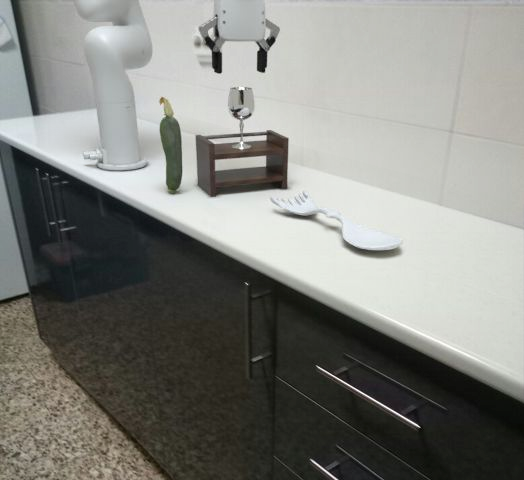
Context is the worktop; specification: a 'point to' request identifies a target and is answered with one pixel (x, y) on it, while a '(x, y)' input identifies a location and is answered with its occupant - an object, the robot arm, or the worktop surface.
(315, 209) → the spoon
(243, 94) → the wineglass
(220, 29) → the robot arm
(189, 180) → the worktop surface
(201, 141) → the rack
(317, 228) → the worktop surface
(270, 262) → the worktop surface
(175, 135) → the vegetable
